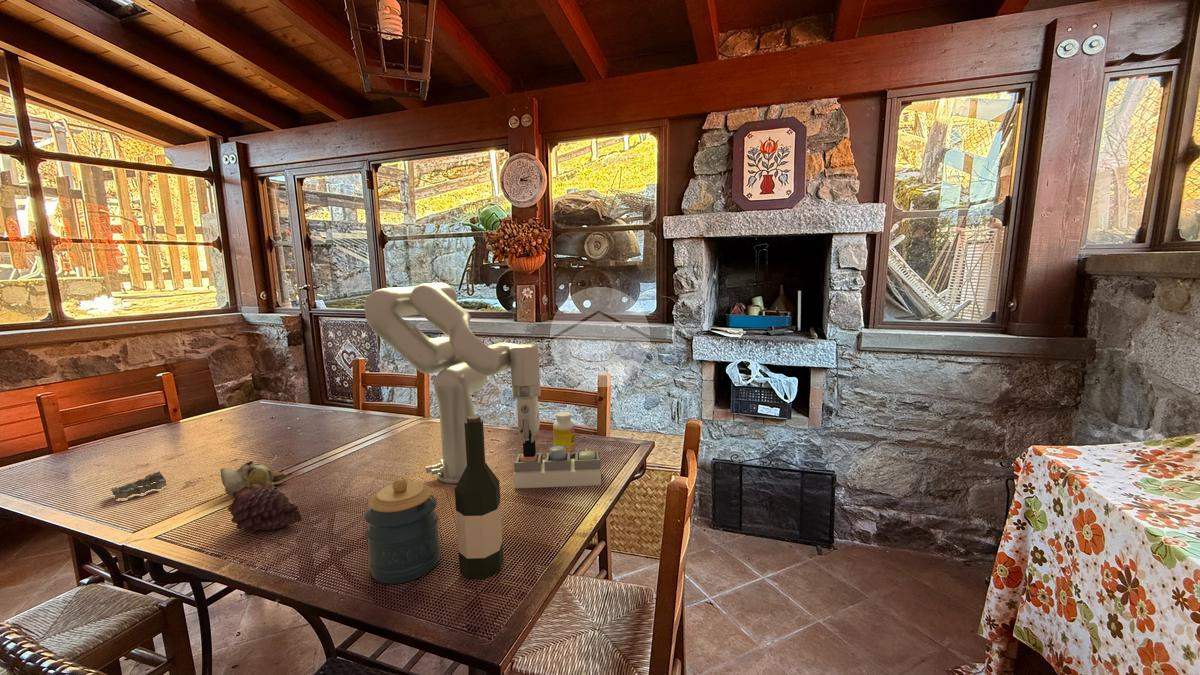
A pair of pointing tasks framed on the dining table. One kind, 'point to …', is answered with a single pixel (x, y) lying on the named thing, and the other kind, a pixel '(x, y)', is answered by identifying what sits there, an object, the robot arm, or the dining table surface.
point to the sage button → (586, 455)
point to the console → (557, 472)
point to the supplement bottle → (564, 432)
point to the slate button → (557, 453)
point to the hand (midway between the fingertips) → (529, 455)
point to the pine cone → (262, 509)
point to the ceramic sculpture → (250, 477)
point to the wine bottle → (478, 509)
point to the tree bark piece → (146, 483)
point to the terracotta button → (528, 458)
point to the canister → (402, 532)
